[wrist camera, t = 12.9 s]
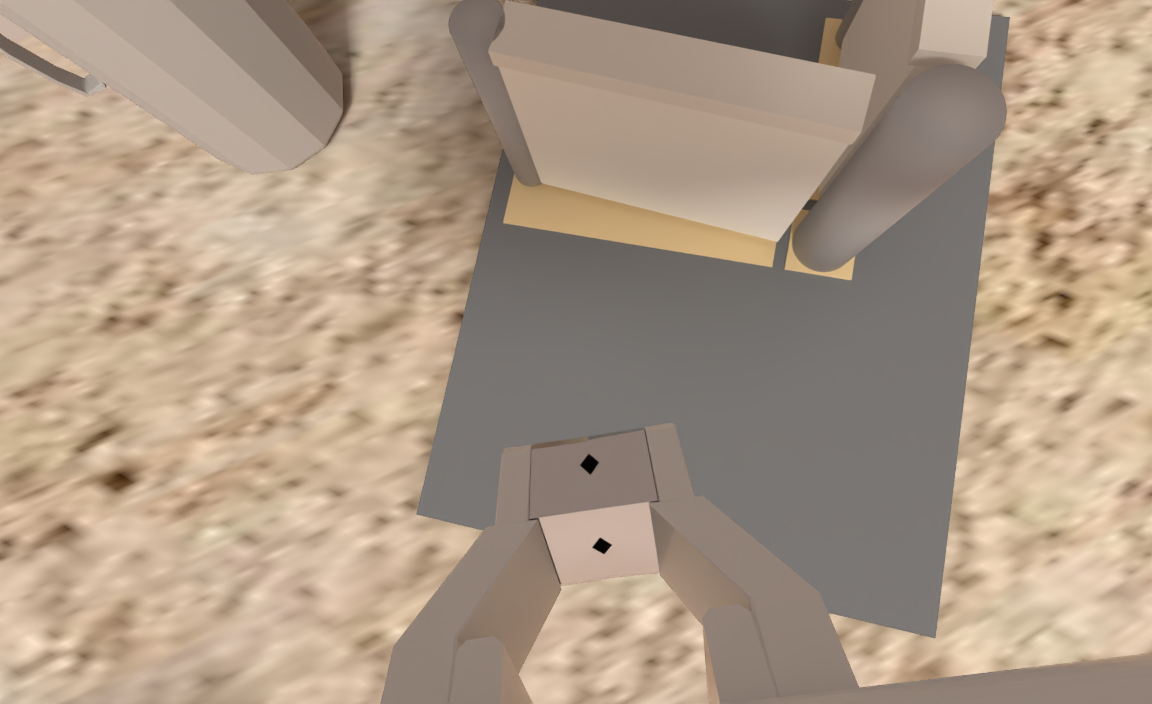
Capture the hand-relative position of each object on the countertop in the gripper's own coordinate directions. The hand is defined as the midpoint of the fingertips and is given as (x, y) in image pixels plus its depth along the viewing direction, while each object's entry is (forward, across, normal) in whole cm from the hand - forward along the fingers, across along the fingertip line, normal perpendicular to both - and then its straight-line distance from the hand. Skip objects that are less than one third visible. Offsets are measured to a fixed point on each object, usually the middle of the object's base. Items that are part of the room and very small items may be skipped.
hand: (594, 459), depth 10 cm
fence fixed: (+17, -11, +2) cm, 20 cm away
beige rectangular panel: (+16, -3, +2) cm, 16 cm away
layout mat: (+14, -5, +5) cm, 16 cm away
